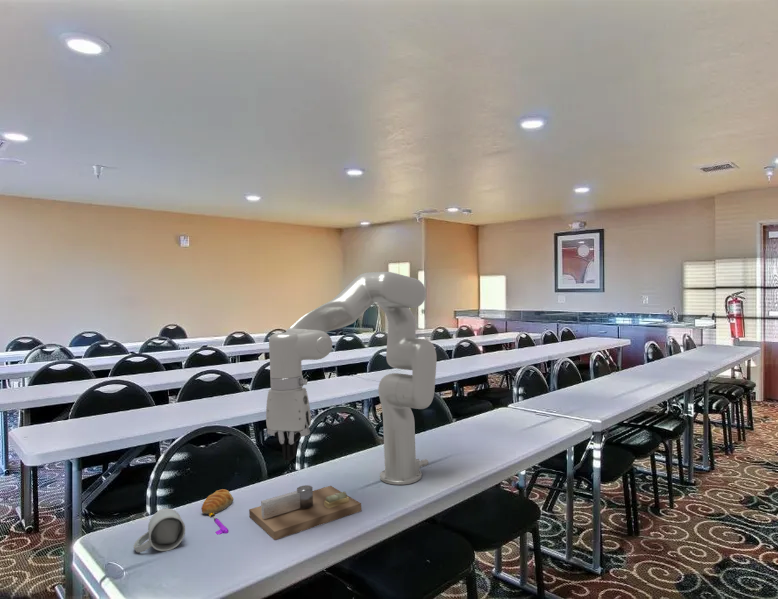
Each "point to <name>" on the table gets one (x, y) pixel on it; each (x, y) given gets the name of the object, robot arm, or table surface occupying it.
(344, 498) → the brown wooden board
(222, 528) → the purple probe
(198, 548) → the table surface
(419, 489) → the table surface
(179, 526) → the ceramic mug
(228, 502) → the pastry
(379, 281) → the robot arm
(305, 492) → the ball-ended lever
